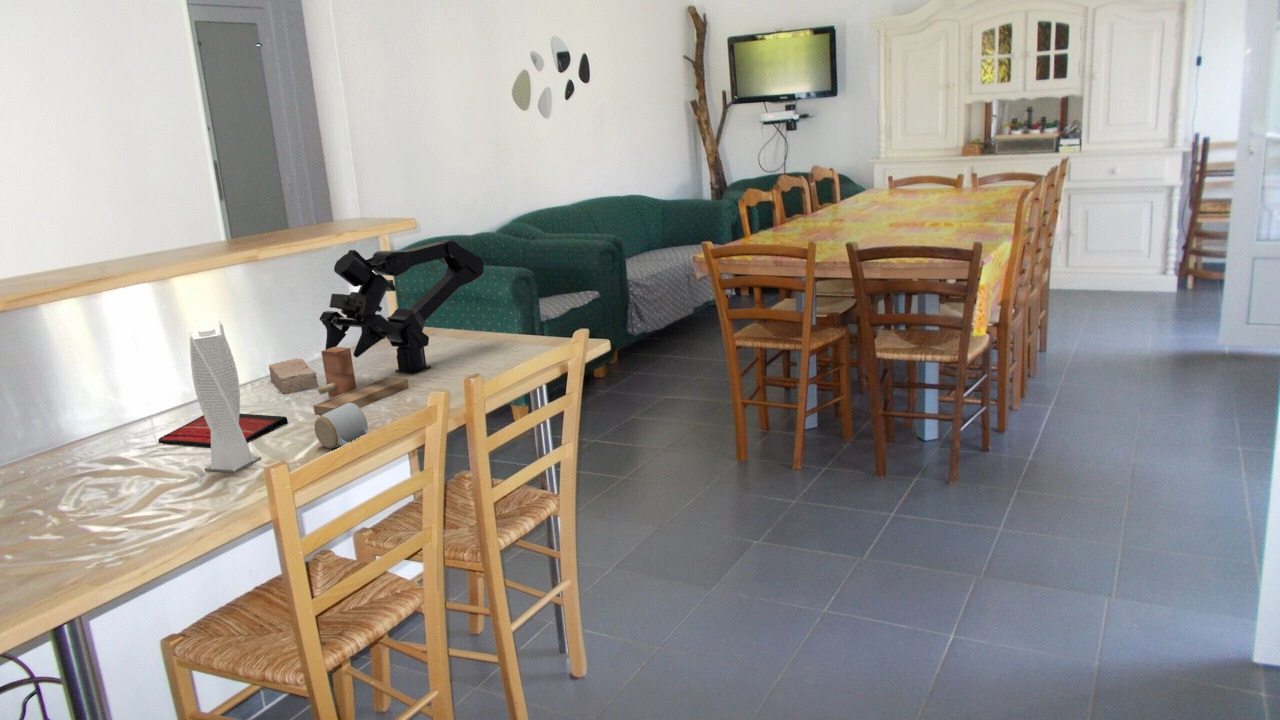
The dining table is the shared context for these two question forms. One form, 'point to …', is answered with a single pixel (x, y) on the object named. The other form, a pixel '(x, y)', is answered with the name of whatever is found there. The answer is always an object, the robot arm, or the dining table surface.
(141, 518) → the dining table surface
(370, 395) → the board
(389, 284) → the robot arm
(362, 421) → the ceramic mug
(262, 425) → the binder
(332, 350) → the wooden block with peg
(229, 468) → the skyscraper
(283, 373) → the brick
